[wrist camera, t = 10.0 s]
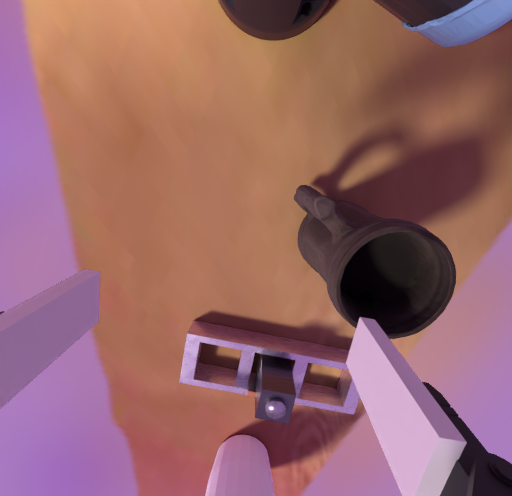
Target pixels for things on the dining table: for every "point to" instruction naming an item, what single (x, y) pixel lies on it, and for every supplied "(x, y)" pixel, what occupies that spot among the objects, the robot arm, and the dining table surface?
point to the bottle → (241, 469)
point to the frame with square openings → (255, 342)
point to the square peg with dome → (274, 389)
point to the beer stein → (375, 264)
